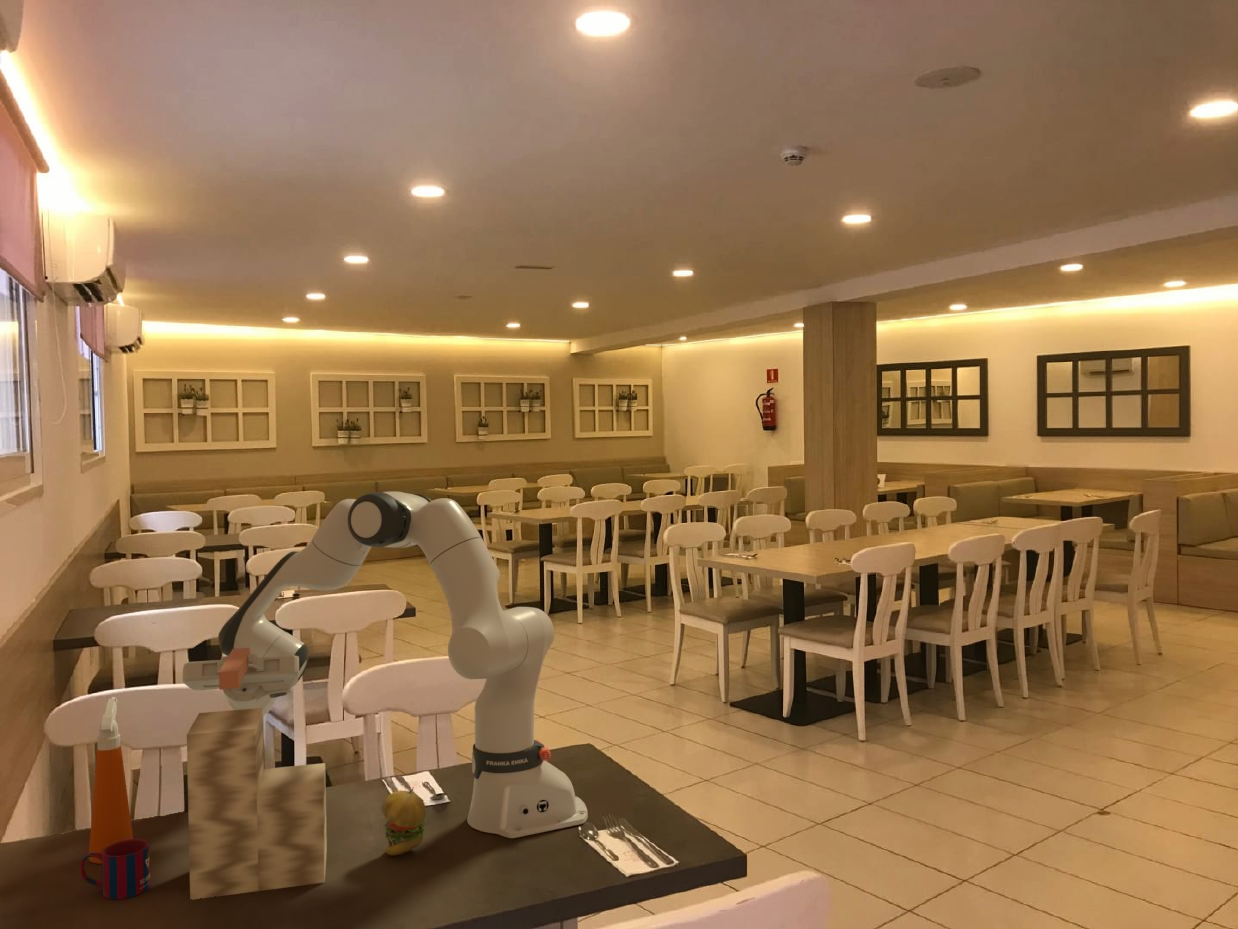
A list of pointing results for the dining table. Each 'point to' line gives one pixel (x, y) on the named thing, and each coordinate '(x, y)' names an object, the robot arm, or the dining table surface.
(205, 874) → the stepped stand
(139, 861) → the mug
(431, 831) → the dining table surface
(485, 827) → the robot arm
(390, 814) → the hamburger
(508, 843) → the dining table surface
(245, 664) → the bar
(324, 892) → the dining table surface
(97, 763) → the spray bottle
